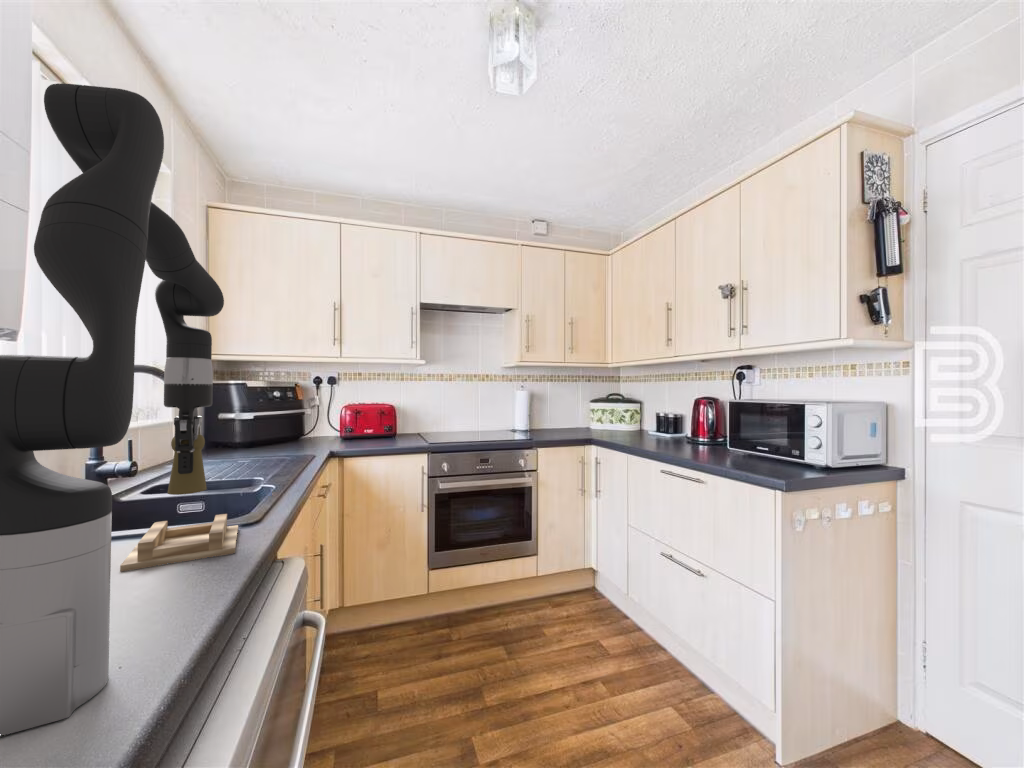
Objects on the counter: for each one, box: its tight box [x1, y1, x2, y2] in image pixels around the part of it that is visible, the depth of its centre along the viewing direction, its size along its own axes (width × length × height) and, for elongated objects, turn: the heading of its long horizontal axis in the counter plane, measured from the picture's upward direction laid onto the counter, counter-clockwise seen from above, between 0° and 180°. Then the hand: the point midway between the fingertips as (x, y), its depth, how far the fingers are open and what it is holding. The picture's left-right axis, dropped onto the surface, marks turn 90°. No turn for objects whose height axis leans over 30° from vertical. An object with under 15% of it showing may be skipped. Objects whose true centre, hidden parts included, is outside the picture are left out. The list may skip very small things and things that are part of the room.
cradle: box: [119, 513, 239, 573], centre depth 82 cm, size 16×16×4 cm
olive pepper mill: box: [167, 433, 208, 496], centre depth 83 cm, size 6×6×11 cm
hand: (187, 470), depth 83 cm, fingers closed on olive pepper mill, 4 cm apart
